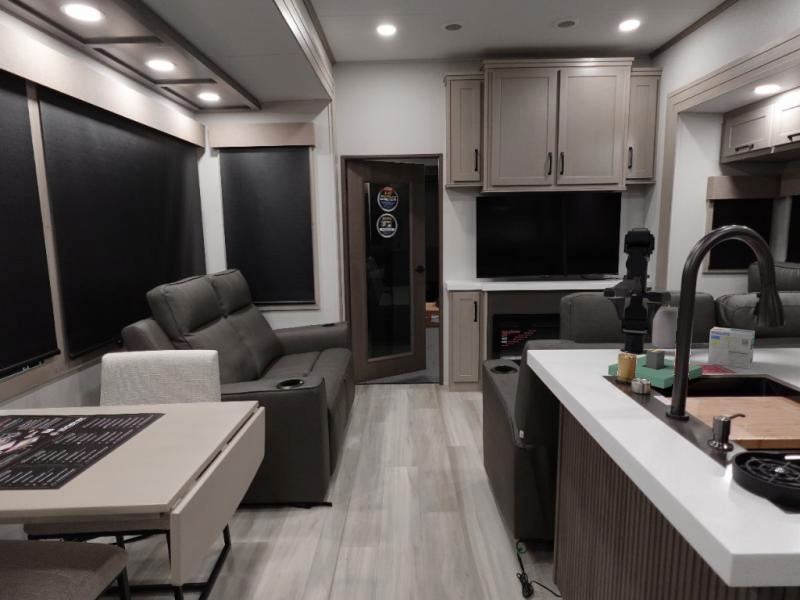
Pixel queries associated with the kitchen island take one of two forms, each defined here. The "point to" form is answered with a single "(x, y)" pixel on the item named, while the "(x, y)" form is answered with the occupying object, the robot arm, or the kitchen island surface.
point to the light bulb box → (731, 347)
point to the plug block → (655, 359)
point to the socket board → (657, 372)
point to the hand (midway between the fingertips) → (634, 322)
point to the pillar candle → (665, 327)
